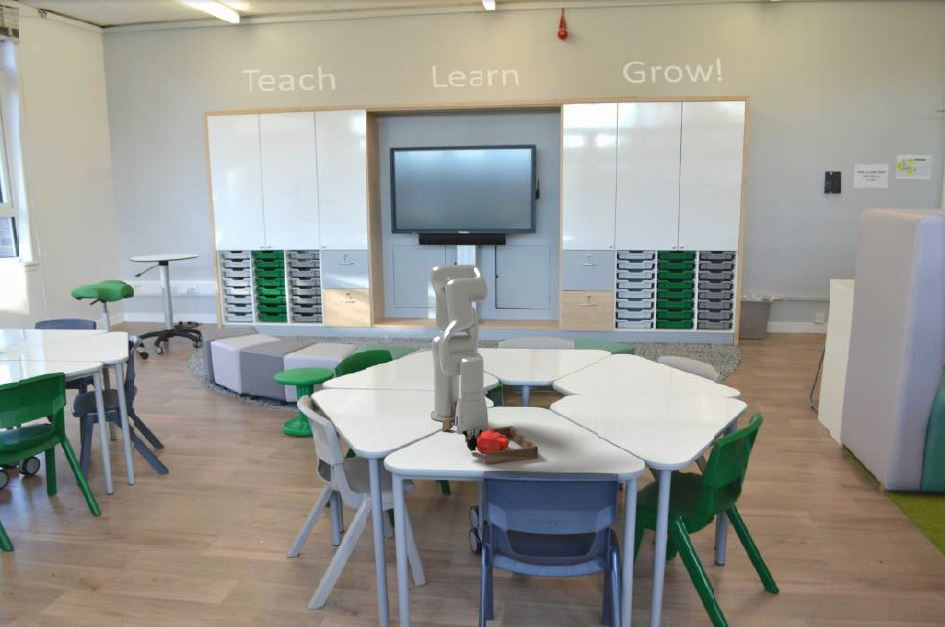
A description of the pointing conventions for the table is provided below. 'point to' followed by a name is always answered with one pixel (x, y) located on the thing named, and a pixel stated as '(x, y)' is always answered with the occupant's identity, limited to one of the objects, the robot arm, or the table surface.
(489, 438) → the animal figurine
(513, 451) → the frame
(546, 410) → the table surface
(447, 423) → the wooden block set
